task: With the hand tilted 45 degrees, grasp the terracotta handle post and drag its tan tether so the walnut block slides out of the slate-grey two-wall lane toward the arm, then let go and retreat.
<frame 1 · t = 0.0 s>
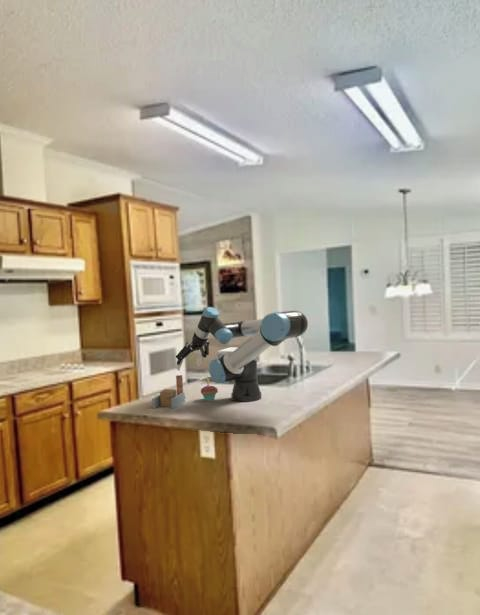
hand: (187, 366, 254), 15 cm above the countertop, tool tilted 35°, fingers open, 13 cm apart
tethered block: (180, 398, 251), on the countertop
cupcake: (209, 400, 244), on the countertop
supplement box: (233, 378, 301), on the countertop
lane: (169, 404, 237), on the countertop
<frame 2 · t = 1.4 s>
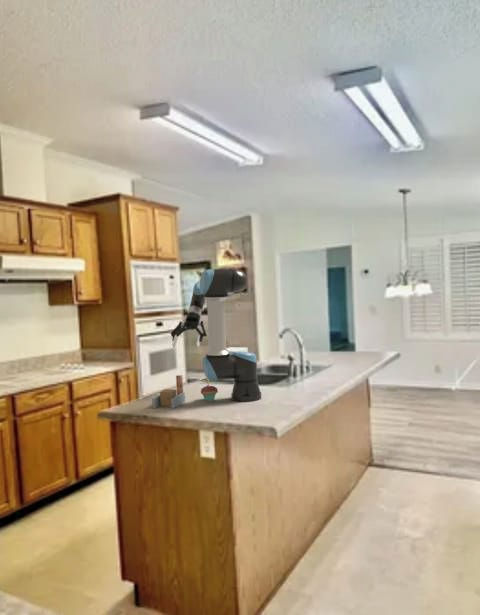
hand: (185, 346, 260), 25 cm above the countertop, tool tilted 45°, fingers open, 13 cm apart
nothing on the countertop moved.
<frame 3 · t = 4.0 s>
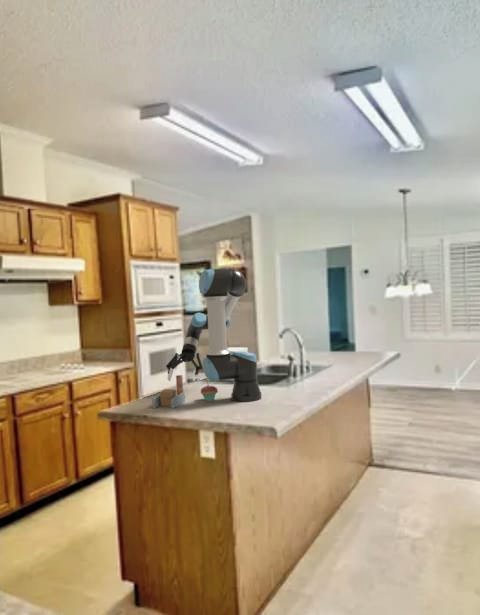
hand: (180, 379, 255), 9 cm above the countertop, tool tilted 45°, fingers open, 13 cm apart
nothing on the countertop moved.
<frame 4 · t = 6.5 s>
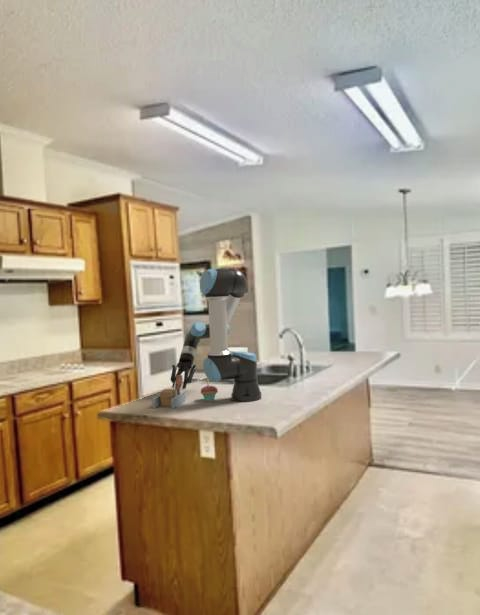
hand: (177, 393, 247), 3 cm above the countertop, tool tilted 45°, fingers closed on tethered block, 3 cm apart
tethered block: (180, 398, 251), on the countertop, touching gripper
everything else where it was.
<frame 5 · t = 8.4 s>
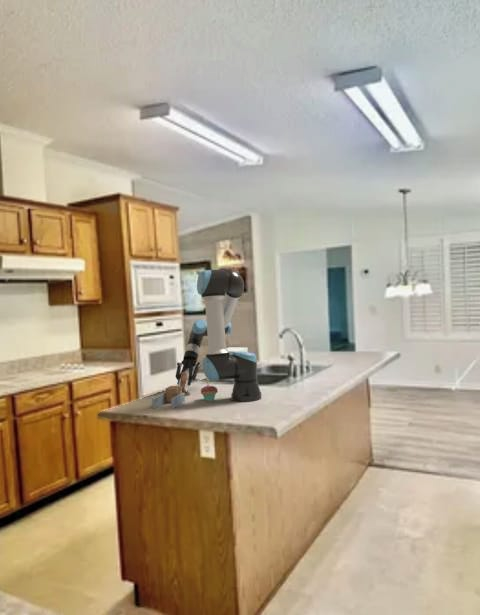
hand: (182, 390, 255), 3 cm above the countertop, tool tilted 45°, fingers closed on tethered block, 3 cm apart
tethered block: (185, 394, 259), on the countertop, touching gripper
everything else where it was.
when the fingers open (4 cm above the countertop, at t = 10.5 s): tethered block stays where it is, on the countertop.
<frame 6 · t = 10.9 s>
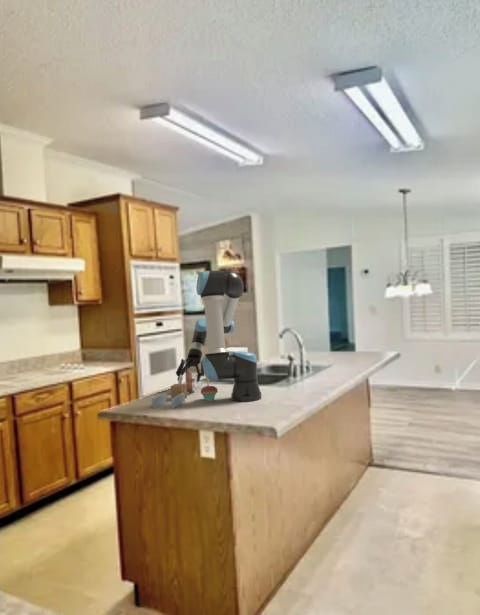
hand: (186, 386, 260), 4 cm above the countertop, tool tilted 45°, fingers open, 8 cm apart
tethered block: (189, 392, 264), on the countertop
everything else where it was.
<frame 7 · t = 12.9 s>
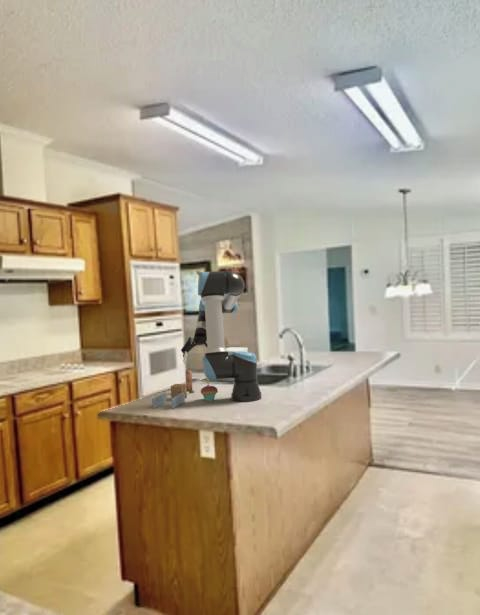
hand: (195, 361, 273), 15 cm above the countertop, tool tilted 40°, fingers open, 13 cm apart
nothing on the countertop moved.
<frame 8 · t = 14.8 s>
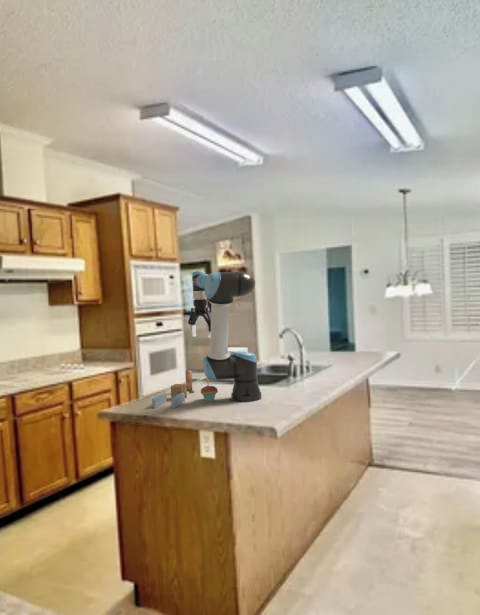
hand: (201, 337, 273), 29 cm above the countertop, tool pointing down, fingers open, 13 cm apart
nothing on the countertop moved.
at the end: tethered block inside the target area (0.6 cm from its centre), on the countertop; tethered block moved 13.3 cm from its start; the gripper is holding nothing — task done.
